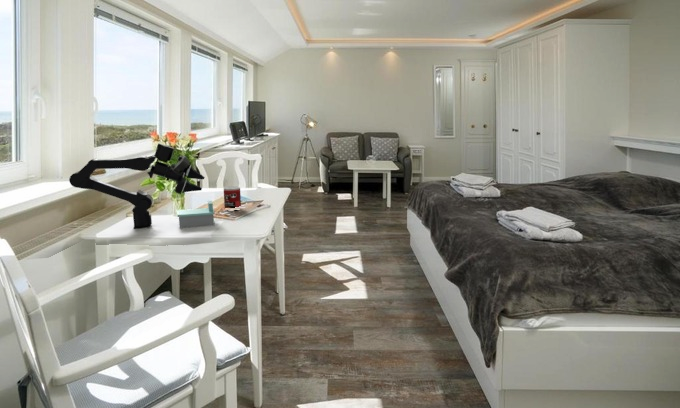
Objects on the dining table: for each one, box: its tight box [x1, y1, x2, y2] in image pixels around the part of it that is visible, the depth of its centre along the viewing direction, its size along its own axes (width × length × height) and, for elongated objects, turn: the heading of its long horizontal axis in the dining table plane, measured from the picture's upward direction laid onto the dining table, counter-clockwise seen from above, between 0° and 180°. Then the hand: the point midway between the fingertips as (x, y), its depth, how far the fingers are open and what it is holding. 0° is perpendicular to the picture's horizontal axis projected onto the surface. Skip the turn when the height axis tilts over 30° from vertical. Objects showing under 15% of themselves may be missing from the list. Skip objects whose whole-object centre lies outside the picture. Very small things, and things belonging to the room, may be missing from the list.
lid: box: [176, 200, 216, 218], centre depth 204 cm, size 15×10×5 cm, turn 108°
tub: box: [178, 214, 215, 229], centre depth 205 cm, size 14×9×5 cm, turn 108°
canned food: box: [223, 186, 242, 209], centre depth 232 cm, size 8×8×11 cm
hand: (202, 183), depth 206 cm, fingers open, 9 cm apart
